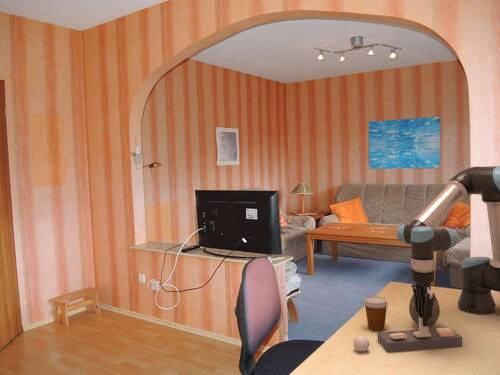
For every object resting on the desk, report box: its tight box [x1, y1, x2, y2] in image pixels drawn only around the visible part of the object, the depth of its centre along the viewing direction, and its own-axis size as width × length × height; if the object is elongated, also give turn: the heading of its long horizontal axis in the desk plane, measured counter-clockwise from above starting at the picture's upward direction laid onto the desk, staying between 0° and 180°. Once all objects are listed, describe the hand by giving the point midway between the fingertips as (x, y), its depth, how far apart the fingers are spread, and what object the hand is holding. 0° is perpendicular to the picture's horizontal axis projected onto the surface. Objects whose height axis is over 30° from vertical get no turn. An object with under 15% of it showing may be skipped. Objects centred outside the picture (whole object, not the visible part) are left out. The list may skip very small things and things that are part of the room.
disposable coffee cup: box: [363, 295, 389, 332], centre depth 180 cm, size 10×10×12 cm
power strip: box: [376, 326, 463, 354], centre depth 164 cm, size 28×10×4 cm, turn 95°
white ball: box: [353, 335, 370, 353], centre depth 162 cm, size 8×6×6 cm
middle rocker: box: [413, 331, 431, 337], centre depth 162 cm, size 5×4×1 cm
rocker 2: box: [435, 326, 455, 337], centre depth 163 cm, size 5×4×1 cm
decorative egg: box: [408, 291, 441, 327], centre depth 181 cm, size 12×12×15 cm
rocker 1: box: [389, 333, 407, 339], centre depth 161 cm, size 5×4×1 cm
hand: (423, 333), depth 160 cm, fingers closed
